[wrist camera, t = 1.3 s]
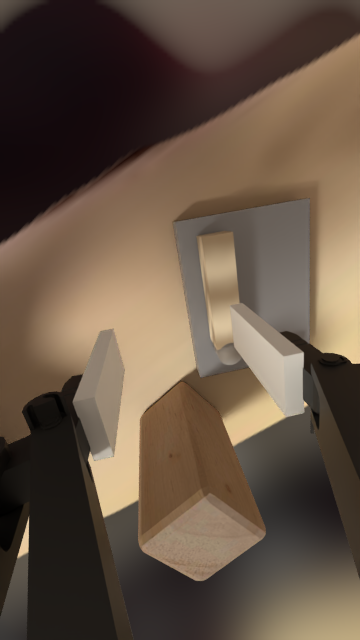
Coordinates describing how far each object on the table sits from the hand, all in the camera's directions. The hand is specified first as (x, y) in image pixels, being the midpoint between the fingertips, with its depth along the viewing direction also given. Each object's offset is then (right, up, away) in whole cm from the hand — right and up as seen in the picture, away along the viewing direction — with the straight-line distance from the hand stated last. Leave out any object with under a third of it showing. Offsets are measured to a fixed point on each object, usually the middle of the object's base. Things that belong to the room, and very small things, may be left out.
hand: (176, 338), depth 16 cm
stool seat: (+9, +5, +24) cm, 26 cm away
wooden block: (0, -15, +30) cm, 33 cm away
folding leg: (+5, +4, +20) cm, 21 cm away
